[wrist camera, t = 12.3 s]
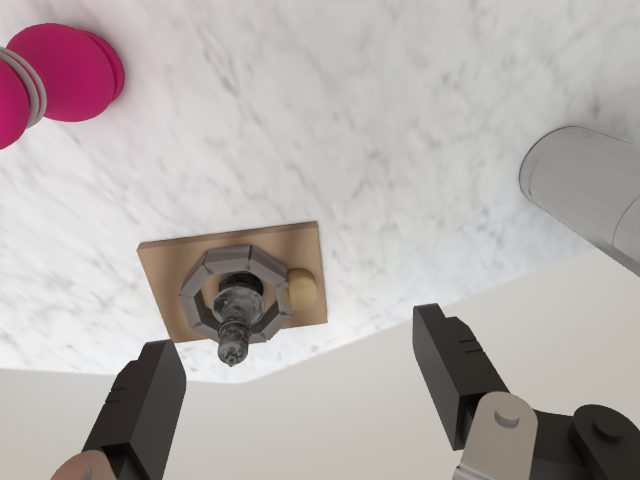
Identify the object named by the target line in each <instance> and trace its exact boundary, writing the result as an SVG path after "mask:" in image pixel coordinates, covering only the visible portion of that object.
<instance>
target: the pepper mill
mask: <svg viewBox="0 0 640 480" xmlns="http://www.w3.org/2000/svg"><path fill="white" fill-rule="evenodd" d="M123 84H124V72H123V67H122V65H121V62H120V59H119V58H118V56H117V54H116V53H115V51H114V50H113V49H112V48H111V46H110V45H109V44H107V43H106V42H105V41H104V40H103V39H101V38H100V37H98V36H96V35H95V34H92V33H90V32H86V31H82V30H76V29H74V28H71V27H68V26H65V25H61V24H56V23H46V24H39V25H34V26H31V27H28V28H25V29H24V30H22V31H21V32H19V33H18V34H16V35H15V36H14V37H13V38H12V39H11V40H10V41H9V43H8V45H7V47H6V48H3V47H1V46H0V150H1V149H4V148H6V147H8V146H9V145H11V144H12V143H14V142H15V141H16V140H18V139H19V138H20V136H21V135H22V134H23V132H24V131H25V129H27V128H30V127H32V126H33V125H35V124H36V123H38V122H39V121H40V120H41V118H42V117H43V116H44V117H46V118H49V119H53V120H58V121H64V122H79V121H84V120H88V119H91V118H94V117H96V116H97V115H99V114H100V113H102V112H103V111H104V110H105V109H106V108H107V106H108V105H109V104H110V102H112V101H114V100H115V99H116V98H117V97H118V95H119V94H120V93H121V90H122V88H123Z"/></svg>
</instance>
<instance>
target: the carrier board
mask: <svg viewBox="0 0 640 480" xmlns="http://www.w3.org/2000/svg"><path fill="white" fill-rule="evenodd" d="M137 253H138V255H139V258H140V261H141V263H142V266H143V268H144V271H145V274H146V276H147V279H148V282H149V284H150V287H151V289H152V292H153V295H154V297H155V300H156V302H157V305H158V308H159V310H160V313H161V316H162V318H163V321H164V323H165V326H166V329H167V331H168V334H169V337H170V339H171V340H172V341H173V343H181V342H188V341H196V340H203V339H211V340H213V341H215V342H217V343H219V341H220V338H219V336H218V333H217V332H218V327H219V325H220V324H221V322H219V321H218V320H217V319H216V318H215V316H214V315H213V312H212V302H213V299H214V297H215V296H216V295H217V294H218V293H219V290H218V289H219V283H220V281H221V279H222V278H223V277H224V276H225V275H227V274H228V273H231V272H236V271H247V272H251V273H252V274H254V275H256V276H257V277H258V278H259V279H260V280H261V282H262V284H263V288H264V290H263V295H262V298H263V300H264V302H265V313H264V315H263V317H262V318H261V319H260V320H259V322H257V323H256V324H254V325H252V327H253V336H252V338H251V339H250V340H249V344H254V343H261V342H266V340H270V339H271V338H272V337H273V336H274V335H275V334H276V333H277V332H278V331H279V330H280V329H286V328H294V327H301V326H309V325H316V324H324V323H328V321H327V311H326V302H325V293H324V283H323V274H322V265H321V256H320V246H319V237H318V228H317V222H316V221H315V222H307V223H299V224H291V225H283V226H275V227H267V228H259V229H251V230H243V231H235V232H227V233H219V234H211V235H202V236H194V237H186V238H178V239H170V240H162V241H154V242H146V243H140V245H139V247H138V248H137Z"/></svg>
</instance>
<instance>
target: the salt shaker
mask: <svg viewBox="0 0 640 480" xmlns="http://www.w3.org/2000/svg"><path fill="white" fill-rule="evenodd" d="M218 290H219V293H218V294H217V295H216V296H215V297H214V299H213V302H212V312H213V315H214V316H215V318H216V319H217V320H218V321H219V322H221V324H220V325H219V327H218V332H217V333H218V336H219V338H220V341H219V347H218V356H219V358H220V360H221V361H222V362H224V363H226V364H228V365H229V366H230V367H232V366H234V365H235V364H238V363H240V362H242V361H243V360H244V359H245V358H246V356H247V354H248V345H249V340H250V339H251V338H252V336H253V327H252V325H254V324H256V323H257V322H259V320H260V319H261V318H262V317H263V315H264V313H265V302H264V300H263V298H262V295H263V290H264V288H263V284H262V282H261V280H260V279H259V278H258V277H257V276H256V275H254V274H252V273H251V272H247V271H236V272H231V273H228V274H227V275H225V276H224V277H223V278H222V279H221V281H220V283H219V289H218Z"/></svg>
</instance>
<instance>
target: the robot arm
mask: <svg viewBox="0 0 640 480" xmlns="http://www.w3.org/2000/svg"><path fill="white" fill-rule="evenodd" d="M520 186H521V189H522V191H523V194H524V195H525V196H526V197H527V198H528V199H529V200H530V201H531V202H533V203H534V204H536V205H537V206H539V207H540V208H541V209H543V210H544V211H546V212H547V213H548V214H550V215H551V216H552V217H554V218H555V219H557V220H558V221H560V222H561V223H562V224H564V225H565V226H567V227H568V228H570V229H571V230H572V231H574V232H575V233H577V234H578V235H580V236H581V237H583V238H584V239H585V240H587V241H588V242H590V243H591V244H593V245H594V246H595V247H597V248H598V249H600V250H601V251H603V252H604V253H605V254H607V255H608V256H610V257H611V258H613V259H614V260H615V261H617V262H618V263H620V264H621V265H623V266H624V267H626V268H627V269H629V270H630V271H631V272H633V273H634V274H636V275H637V276H639V277H640V147H638V146H635V145H632V144H629V143H626V142H623V141H620V140H617V139H614V138H611V137H608V136H605V135H602V134H599V133H596V132H593V131H590V130H588V129H585V128H581V127H565V128H562V129H559V130H556V131H554V132H552V133H550V134H548V135H547V136H545V137H544V138H543V139H541V140H540V141H539V142H538V143H537V144H536V145H535V146H534V147H533V148H532V149H531V151H530V152H529V153H528V155H527V156H526V158H525V160H524V162H523V164H522V168H521V172H520ZM413 349H414V353H415V357H416V360H417V362H418V365H419V367H420V370H421V372H422V375H423V377H424V380H425V382H426V384H427V387H428V389H429V392H430V394H431V397H432V399H433V402H434V404H435V407H436V409H437V412H438V414H439V417H440V419H441V422H442V424H443V427H444V429H445V432H446V434H447V436H448V439H449V441H450V444H451V447H452V449H453V451H456V450H462V449H464V452H463V455H462V458H461V461H460V464H459V466H457V467H456V469H455V472H454V474H453V478H452V480H640V431H639V429H638V428H637V427H636V426H635V425H634V424H633V423H632V422H631V421H630V420H629V419H628V418H626V417H625V416H624V415H622V414H621V413H619V412H617V411H615V410H613V409H611V408H608V407H605V406H601V405H594V404H593V405H592V404H591V405H590V404H589V405H584V406H581V407H579V408H578V409H577V410H576V411H575V413H574V415H573V416H566V415H560V414H553V413H546V412H541V411H538V410H535V409H532V408H531V407H530V405H529V404H527V403H526V402H525V401H524V400H522V399H521V398H519V397H517V396H515V395H513V394H511V393H510V392H509V390H508V389H507V387H506V386H505V384H504V382H503V381H502V379H501V378H500V376H499V374H498V373H497V371H496V369H495V368H494V366H493V365H492V363H491V362H490V360H489V358H488V357H487V355H486V353H485V352H483V349H482V347H481V346H480V344H479V342H478V341H477V340H476V337H475V336H474V334H473V333H472V331H471V329H470V328H469V326H467V325H466V324H465V323H464V322H462V321H461V320H459V319H458V318H457V317H449V318H446V317H445V315H444V314H443V312H442V310H441V308H440V307H439V305H438V304H437V303H433V304H426V305H419V306H414V308H413ZM185 391H186V374H185V370H184V368H183V365H182V363H181V360H180V358H179V355H178V352H177V350H176V347H175V345H174V343H173V341H172V340H171V339H168V340H160V341H153V342H147V343H146V344H145V345H144V346H143V349H142V351H141V353H140V356H139V358H138V360H134V361H130V362H129V363H128V364H127V365H126V366H125V367H124V368H123V369H122V371H121V372H120V373H119V374H118V375H117V377H116V379H115V382H114V384H113V386H112V388H111V392H109V395H108V396H107V399H106V401H105V404H104V405H103V407H102V409H101V411H100V413H99V416H98V418H97V420H96V422H95V424H94V426H93V428H92V431H91V433H90V435H89V437H88V439H87V441H86V443H85V445H84V447H83V450H82V451H81V453H80V454H77V455H75V456H73V457H72V458H70V459H69V460H68V461H66V462H65V463H64V464H63V465H62V466H61V467H60V468H59V469H58V470H57V471H56V472H55V473H54V475H53V476H52V478H51V480H162V478H163V474H164V470H165V467H166V463H167V459H168V455H169V451H170V448H171V444H172V440H173V436H174V433H175V429H176V425H177V421H178V418H179V413H180V410H181V406H182V402H183V399H184V395H185Z"/></svg>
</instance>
